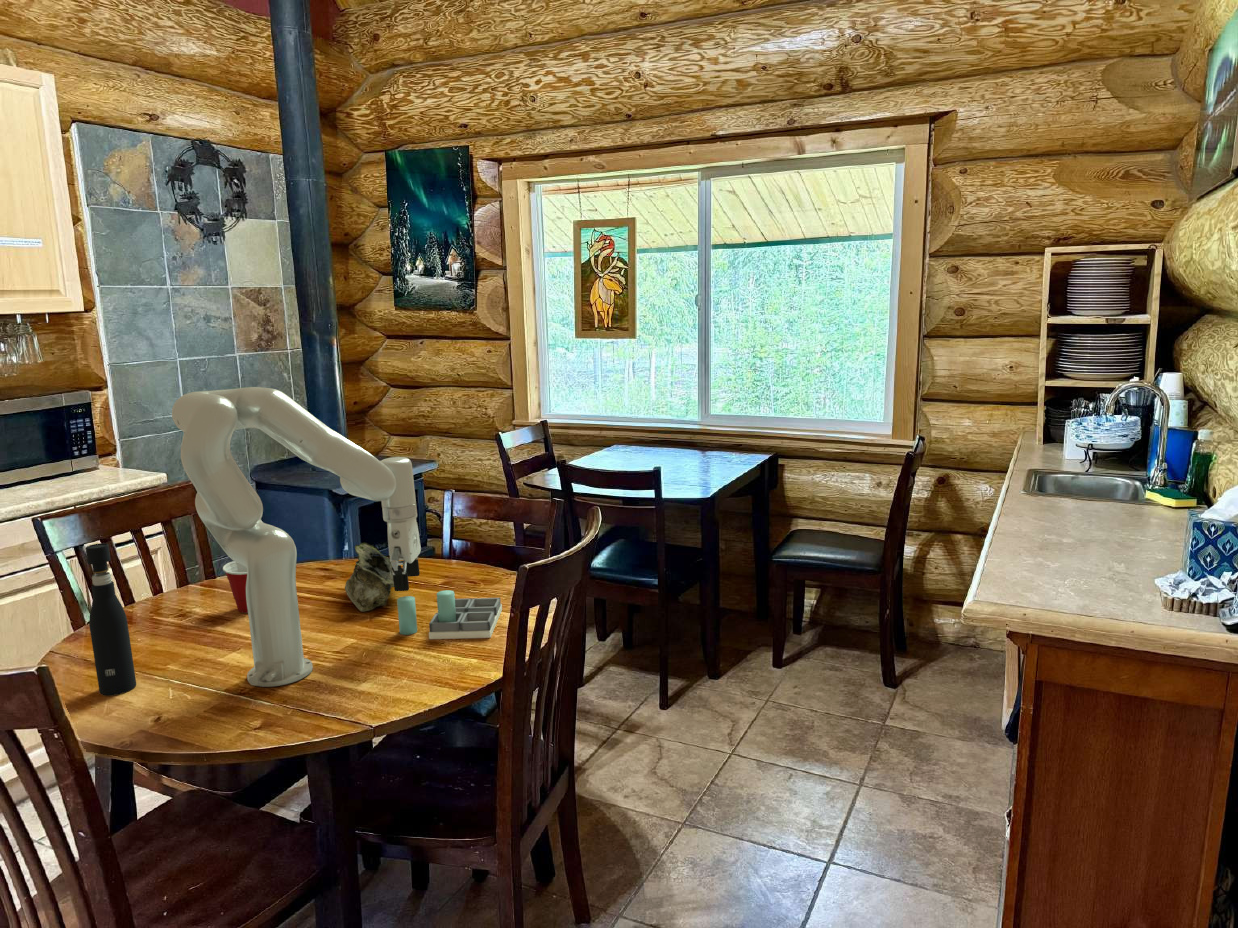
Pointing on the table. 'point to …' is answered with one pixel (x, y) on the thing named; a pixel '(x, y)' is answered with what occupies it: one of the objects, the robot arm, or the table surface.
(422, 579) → the table surface
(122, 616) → the black water bottle
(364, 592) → the hollow geode rock
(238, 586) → the plastic cup
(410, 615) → the teal peg
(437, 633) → the pin board
